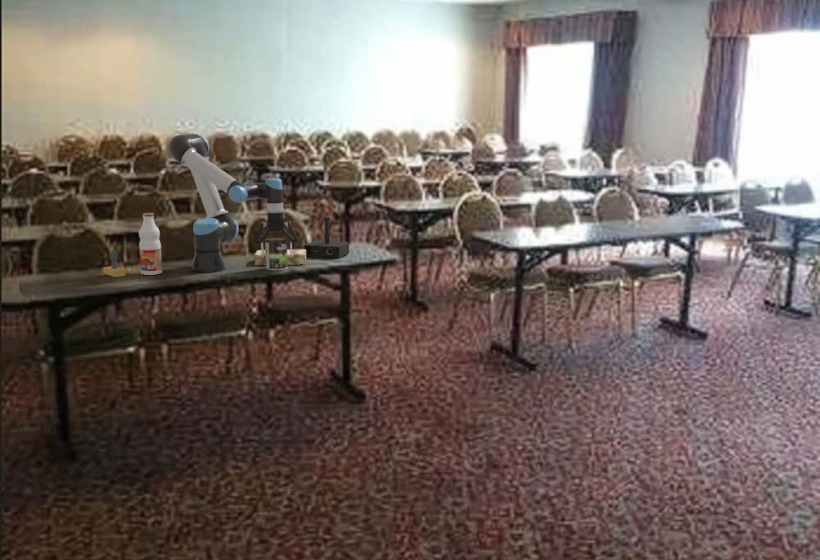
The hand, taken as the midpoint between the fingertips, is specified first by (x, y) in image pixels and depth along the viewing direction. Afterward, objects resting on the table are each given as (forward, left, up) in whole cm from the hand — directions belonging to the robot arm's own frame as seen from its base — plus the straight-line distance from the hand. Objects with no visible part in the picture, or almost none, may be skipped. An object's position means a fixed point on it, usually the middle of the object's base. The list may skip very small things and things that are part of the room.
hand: (277, 256), depth 412 cm
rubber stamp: (-72, -12, -6) cm, 74 cm away
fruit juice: (-56, -10, -6) cm, 57 cm away
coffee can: (0, 0, -6) cm, 6 cm away
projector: (+23, +33, -6) cm, 41 cm away
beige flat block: (+1, +16, -6) cm, 17 cm away
